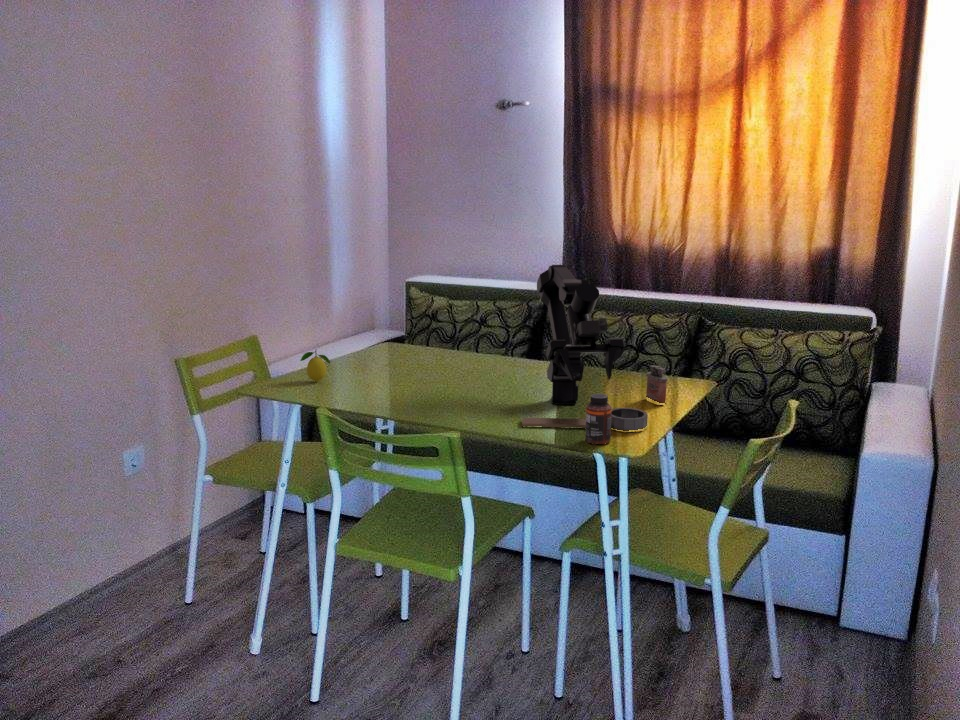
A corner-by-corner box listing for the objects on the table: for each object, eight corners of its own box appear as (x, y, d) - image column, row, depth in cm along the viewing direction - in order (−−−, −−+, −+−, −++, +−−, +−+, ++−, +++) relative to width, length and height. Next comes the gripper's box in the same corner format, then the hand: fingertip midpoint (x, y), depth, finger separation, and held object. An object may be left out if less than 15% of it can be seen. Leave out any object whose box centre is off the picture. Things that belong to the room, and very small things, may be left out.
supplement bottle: (609, 437, 221) (611, 392, 218) (611, 446, 215) (613, 399, 212) (584, 437, 221) (585, 391, 218) (586, 445, 215) (587, 398, 213)
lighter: (642, 398, 254) (644, 363, 252) (653, 397, 255) (655, 362, 253) (657, 406, 247) (660, 370, 244) (668, 405, 248) (671, 369, 246)
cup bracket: (521, 430, 226) (522, 416, 225) (522, 418, 235) (522, 405, 234) (648, 433, 224) (649, 419, 224) (644, 421, 234) (644, 408, 233)
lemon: (301, 383, 266) (299, 349, 264) (311, 378, 271) (309, 345, 269) (321, 385, 264) (320, 351, 262) (331, 380, 269) (330, 347, 267)
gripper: (550, 307, 222) (559, 362, 214) (625, 305, 225) (637, 360, 217) (542, 332, 231) (551, 386, 223) (614, 330, 234) (625, 384, 226)
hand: (591, 379), depth 222 cm, fingers open, 9 cm apart
